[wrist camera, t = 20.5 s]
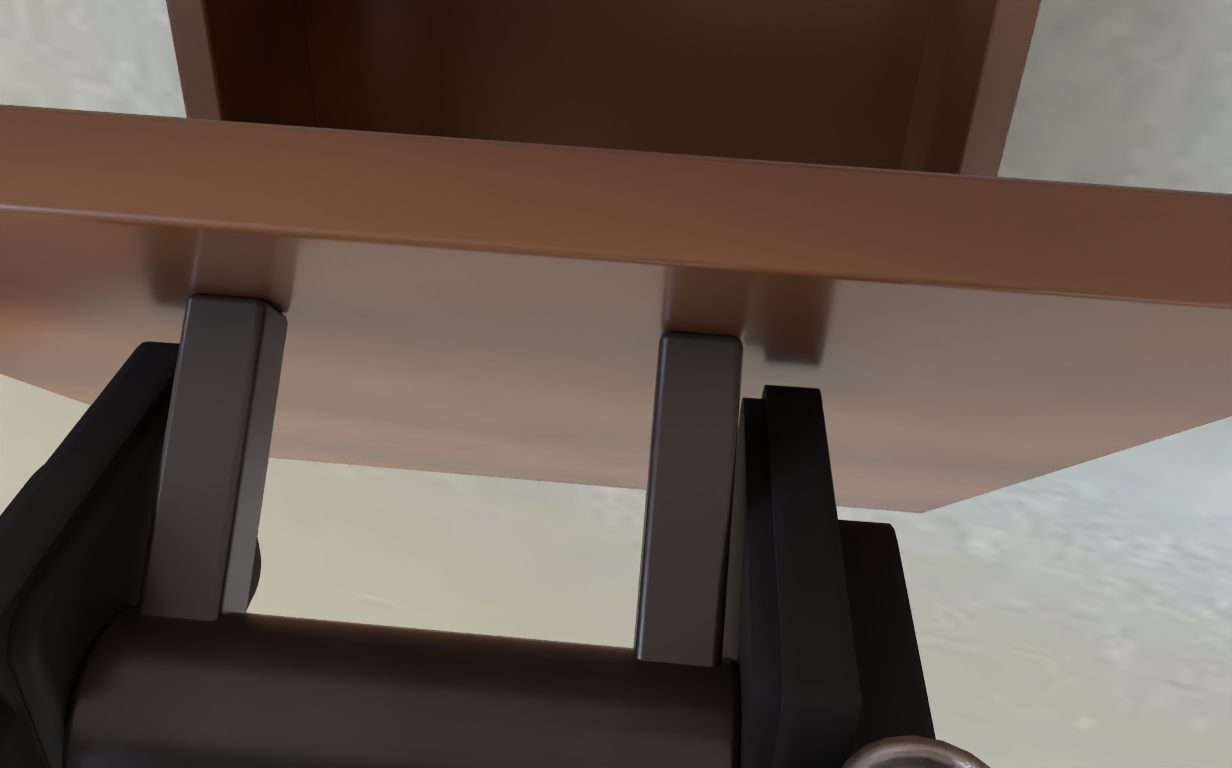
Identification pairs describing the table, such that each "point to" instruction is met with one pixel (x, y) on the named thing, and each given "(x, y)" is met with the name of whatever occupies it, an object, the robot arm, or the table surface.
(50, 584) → the robot arm
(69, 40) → the table surface
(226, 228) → the lid
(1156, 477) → the table surface
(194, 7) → the brown wooden open box
